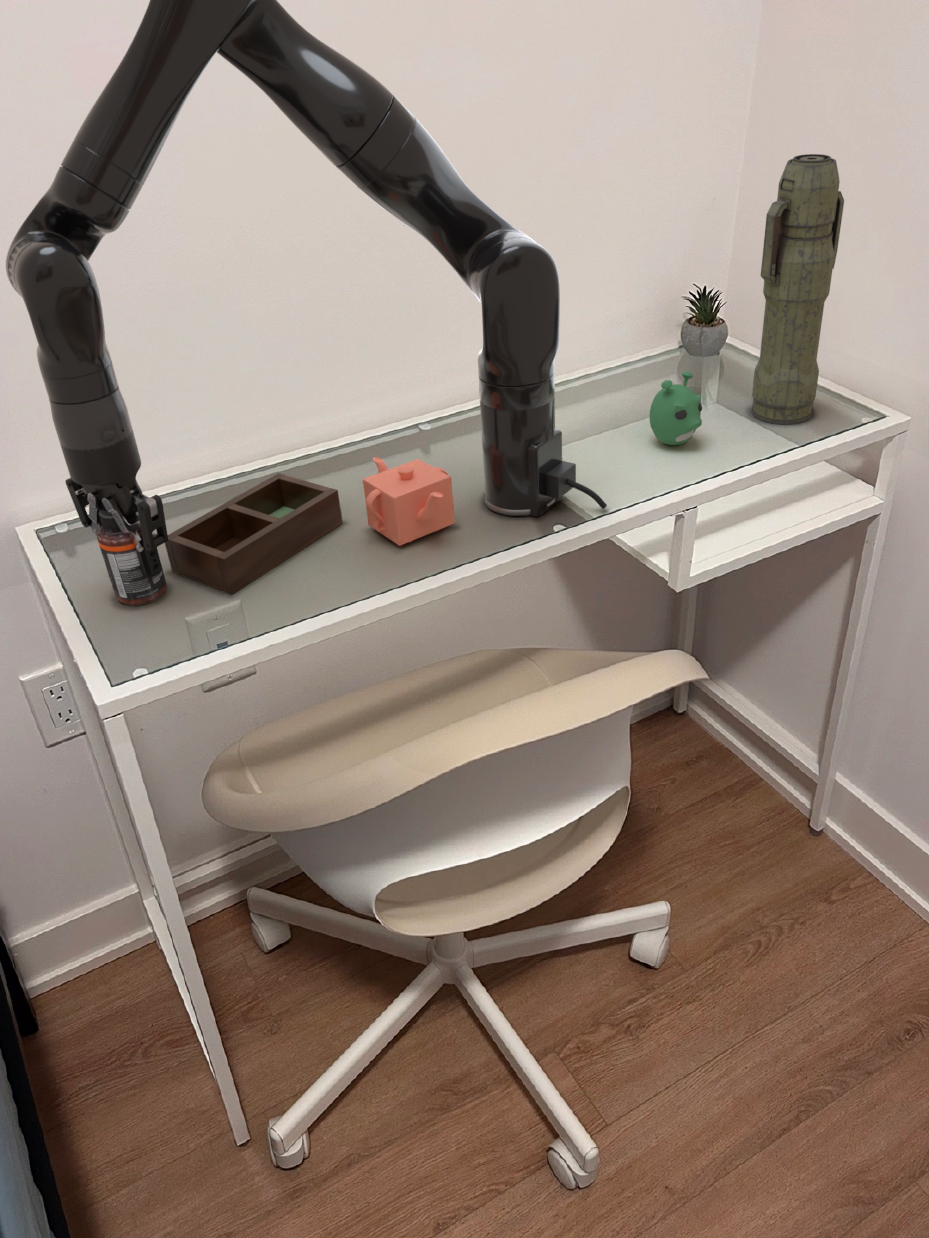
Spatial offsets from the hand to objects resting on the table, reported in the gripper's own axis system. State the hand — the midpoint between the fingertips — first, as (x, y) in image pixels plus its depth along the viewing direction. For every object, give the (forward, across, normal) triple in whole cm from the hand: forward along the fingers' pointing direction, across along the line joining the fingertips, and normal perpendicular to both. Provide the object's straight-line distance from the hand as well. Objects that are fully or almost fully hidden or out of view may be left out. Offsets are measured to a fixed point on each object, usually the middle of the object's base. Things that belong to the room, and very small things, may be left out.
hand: (134, 567), depth 116 cm
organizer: (+4, -4, -15) cm, 16 cm away
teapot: (+4, -18, -28) cm, 34 cm away
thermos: (+4, -46, -83) cm, 95 cm away
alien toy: (+4, -36, -66) cm, 76 cm away
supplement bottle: (+4, 0, 0) cm, 4 cm away
